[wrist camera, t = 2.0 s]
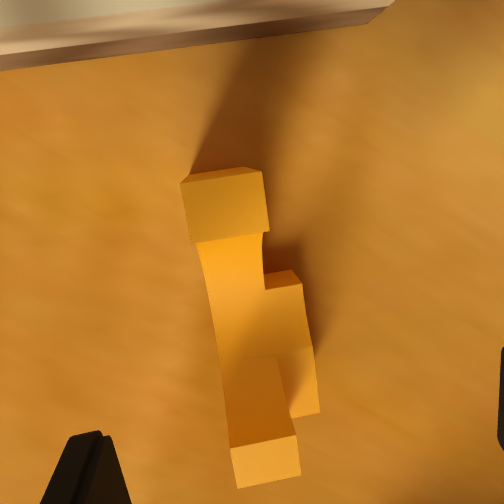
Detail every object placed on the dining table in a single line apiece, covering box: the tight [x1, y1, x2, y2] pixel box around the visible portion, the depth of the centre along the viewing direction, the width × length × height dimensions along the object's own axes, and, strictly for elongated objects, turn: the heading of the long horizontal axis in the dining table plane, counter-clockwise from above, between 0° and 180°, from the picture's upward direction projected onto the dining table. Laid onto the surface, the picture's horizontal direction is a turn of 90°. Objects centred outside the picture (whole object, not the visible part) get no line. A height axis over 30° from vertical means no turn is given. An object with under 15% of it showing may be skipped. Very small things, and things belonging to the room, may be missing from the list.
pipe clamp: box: [180, 166, 320, 489], centre depth 16 cm, size 12×4×6 cm, turn 8°
